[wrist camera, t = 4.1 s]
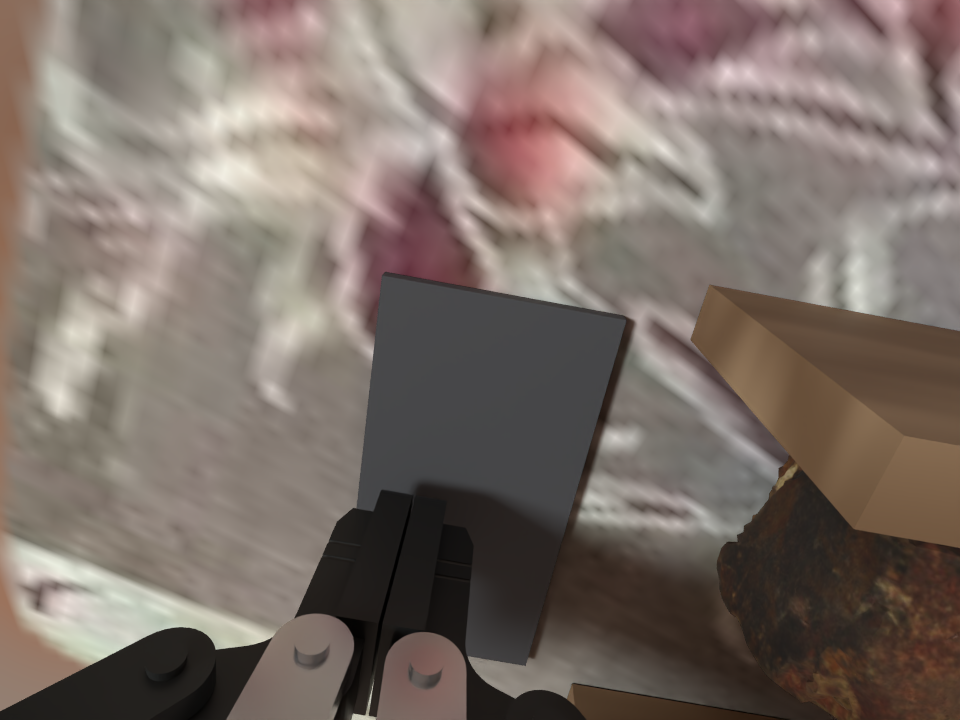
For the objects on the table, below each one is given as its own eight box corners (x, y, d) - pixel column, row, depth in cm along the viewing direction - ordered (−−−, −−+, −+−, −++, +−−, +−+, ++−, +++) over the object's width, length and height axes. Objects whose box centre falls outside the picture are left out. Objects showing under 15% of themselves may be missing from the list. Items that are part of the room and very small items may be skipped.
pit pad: (385, 271, 11) (382, 275, 11) (623, 315, 12) (625, 320, 11) (345, 625, 15) (343, 634, 15) (525, 656, 15) (525, 666, 15)
